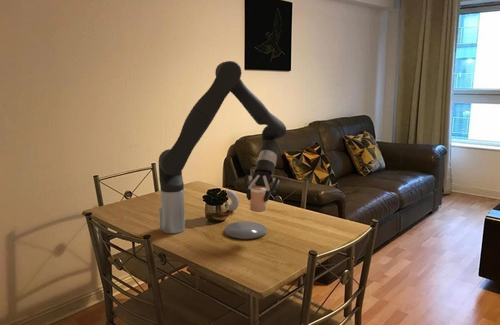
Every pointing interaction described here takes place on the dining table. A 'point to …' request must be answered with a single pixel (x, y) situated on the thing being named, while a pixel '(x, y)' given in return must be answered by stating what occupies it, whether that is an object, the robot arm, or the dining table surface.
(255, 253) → the dining table surface
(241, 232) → the dish
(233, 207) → the donut
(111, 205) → the dining table surface
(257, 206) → the pink cylinder
